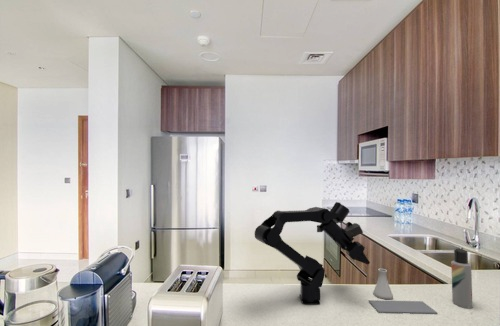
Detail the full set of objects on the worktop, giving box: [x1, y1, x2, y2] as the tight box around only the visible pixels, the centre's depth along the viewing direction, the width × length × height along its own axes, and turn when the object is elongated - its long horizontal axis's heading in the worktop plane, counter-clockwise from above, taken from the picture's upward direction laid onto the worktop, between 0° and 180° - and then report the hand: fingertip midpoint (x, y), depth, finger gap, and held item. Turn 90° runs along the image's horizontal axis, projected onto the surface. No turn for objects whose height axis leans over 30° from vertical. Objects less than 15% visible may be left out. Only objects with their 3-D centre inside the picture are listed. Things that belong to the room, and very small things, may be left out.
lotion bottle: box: [450, 248, 473, 309], centre depth 94 cm, size 6×6×20 cm
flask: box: [372, 268, 394, 300], centre depth 100 cm, size 7×7×10 cm
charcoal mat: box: [368, 299, 438, 315], centre depth 91 cm, size 20×8×1 cm, turn 89°
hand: (363, 259), depth 100 cm, fingers open, 9 cm apart
